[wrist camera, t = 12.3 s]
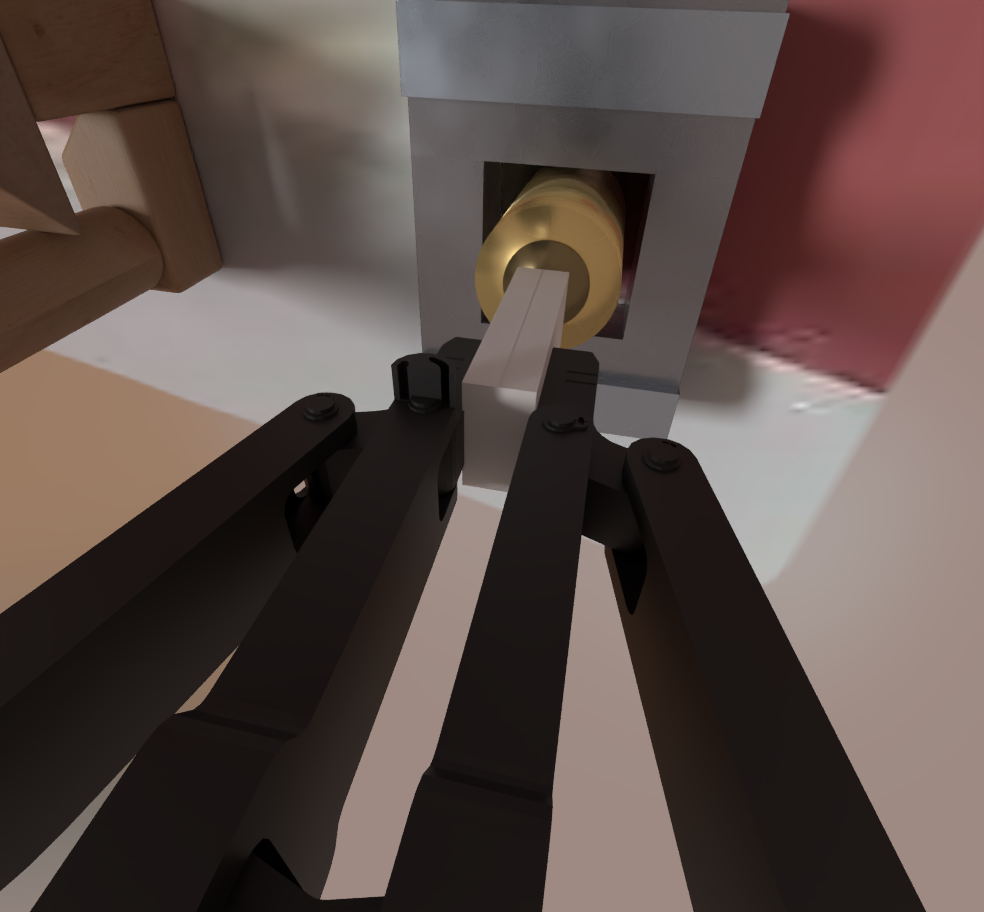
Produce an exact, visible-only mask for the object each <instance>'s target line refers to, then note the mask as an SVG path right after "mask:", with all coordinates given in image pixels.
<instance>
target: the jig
mask: <svg viewBox="0 0 984 912" xmlns="http://www.w3.org/2000/svg"><path fill="white" fill-rule="evenodd" d="M788 3H789V0H396V11H397V27H398V43H399V59H400V75H401V91H402V96H406V97H408V106H409V124H410V142H411V159H412V177H413V195H414V212H415V230H416V248H417V265H418V283H419V301H420V318H421V336H422V353H432V354H437V353H438V351H439V350H440V348H441V346H442V345H443V344H445V343H446V342H448V341H449V340H451V339H453V338H454V337H463V338H471V339H479V340H483V338H484V336H485V333H486V331H487V329H488V327H489V325H490V322H489V320H488V319H487V317H486V316H485V314H484V312H483V310H482V308H481V306H480V303H479V300H478V297H477V293H476V287H475V269H476V263H477V259H478V255H479V252H480V250H481V248H482V246H483V244H484V242H485V240H486V239H487V237H488V236H489V234H490V233H491V232H492V230H493V229H494V228H495V226H496V225H497V223H498V222H499V221H500V207H501V180H502V162H504V163H517V164H530V165H543V166H556V167H569V168H582V169H595V170H608V171H621V172H634V173H647V174H649V180H648V185H647V190H646V195H645V201H644V206H643V211H642V216H641V222H640V227H639V232H638V237H637V243H636V248H635V253H634V258H633V264H632V269H631V274H630V279H629V284H628V290H627V295H626V300H625V305H624V304H617V305H616V308H615V310H614V312H613V314H612V316H611V318H610V319H609V320H608V322H607V323H606V325H605V326H604V327H603V328H602V329H601V330H600V331H599V332H598V333H597V334H596V335H595V336H593V337H592V338H590V339H589V340H587V341H586V342H584V343H582V344H580V345H578V346H575V347H573V348H570V349H572V350H580V351H588V352H593V354H594V355H595V357H596V358H597V360H598V361H599V363H600V364H599V373H598V382H597V391H596V400H595V409H594V417H593V420H594V426H595V428H596V430H597V431H598V432H600V433H607V434H614V435H621V436H628V437H635V438H642V439H643V438H651V437H655V438H663V439H667V437H668V434H669V431H670V427H671V424H672V420H673V417H674V413H675V410H676V406H677V403H678V399H679V396H680V392H679V385H680V382H681V378H682V375H683V371H684V368H685V364H686V361H687V357H688V354H689V350H690V347H691V343H692V340H693V336H694V333H695V329H696V326H697V322H698V319H699V315H700V312H701V308H702V305H703V301H704V298H705V294H706V291H707V287H708V284H709V280H710V277H711V273H712V270H713V266H714V262H715V259H716V255H717V252H718V248H719V245H720V241H721V238H722V234H723V231H724V227H725V224H726V220H727V217H728V213H729V210H730V206H731V203H732V199H733V196H734V192H735V189H736V185H737V182H738V178H739V175H740V171H741V168H742V164H743V161H744V157H745V154H746V150H747V147H748V143H749V140H750V136H751V133H752V129H753V126H754V122H755V119H756V118H760V116H761V112H762V109H763V105H764V102H765V98H766V95H767V91H768V88H769V84H770V81H771V78H772V74H773V71H774V67H775V64H776V60H777V57H778V53H779V50H780V46H781V43H782V39H783V36H784V33H785V29H786V26H787V22H788V19H789V15H790V13H786V10H787V6H788Z"/></svg>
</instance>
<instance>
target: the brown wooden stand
mask: <svg viewBox="0 0 984 912" xmlns="http://www.w3.org/2000/svg"><path fill="white" fill-rule="evenodd" d="M174 95H175V86H174V82H173V79H172V75H171V71H170V68H169V64H168V60H167V57H166V53H165V49H164V46H163V42H162V38H161V35H160V31H159V28H158V24H157V20H156V17H155V13H154V9H153V6H152V2H151V0H0V227H9V228H18V229H26V231H24V232H21V233H18V234H15V235H12V236H9V237H6V238H4V239H1V240H0V373H1V372H3V371H5V370H7V369H8V368H10V367H12V366H14V365H16V364H17V363H19V362H21V361H23V360H24V359H26V358H28V357H30V356H32V355H33V354H35V353H37V352H39V351H41V350H42V349H44V348H46V347H48V346H49V345H51V344H53V343H55V342H57V341H58V340H60V339H62V338H64V337H66V336H67V335H69V334H71V333H73V332H75V331H76V330H78V329H80V328H82V327H83V326H85V325H87V324H89V323H91V322H92V321H94V320H96V319H98V318H100V317H101V316H103V315H105V314H107V313H109V312H110V311H112V310H114V309H116V308H117V307H119V306H121V305H123V304H125V303H126V302H128V301H130V300H132V299H134V298H135V297H137V296H139V295H141V294H142V293H144V292H146V291H148V290H158V291H166V292H173V293H180V292H183V291H185V290H186V289H188V288H190V287H191V286H193V285H195V284H196V283H198V282H200V281H201V280H203V279H205V278H206V277H208V276H210V275H211V274H213V273H215V272H216V271H218V270H220V269H221V268H222V259H221V255H220V252H219V248H218V245H217V241H216V237H215V234H214V230H213V226H212V223H211V219H210V215H209V212H208V208H207V205H206V201H205V197H204V194H203V190H202V186H201V183H200V179H199V175H198V172H197V168H196V165H195V161H194V157H193V154H192V150H191V146H190V143H189V139H188V135H187V132H186V128H185V125H184V121H183V117H182V114H181V110H180V107H179V105H178V103H177V102H175V101H173V100H170V99H169V98H171V97H173V96H174ZM74 115H78V116H77V119H76V121H75V124H74V126H73V129H72V131H71V134H70V136H69V139H68V141H67V144H66V146H65V149H64V151H63V154H62V159H63V163H64V165H65V168H66V170H67V173H68V175H69V178H70V180H71V182H72V185H73V187H74V190H75V192H76V195H77V197H78V200H79V202H80V204H81V207H82V209H83V211H81V212H78V213H74V211H73V208H72V206H71V204H70V201H69V199H68V197H67V194H66V192H65V189H64V187H63V185H62V182H61V180H60V178H59V175H58V173H57V170H56V168H55V166H54V163H53V161H52V159H51V156H50V154H49V151H48V149H47V147H46V144H45V142H44V140H43V137H42V135H41V132H40V130H39V128H38V125H37V123H36V121H37V122H40V121H46V120H52V119H57V118H63V117H69V116H74Z"/></svg>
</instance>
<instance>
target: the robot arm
mask: <svg viewBox="0 0 984 912" xmlns="http://www.w3.org/2000/svg"><path fill="white" fill-rule="evenodd" d="M568 279H569V272H563V271H554V270H544V269H534V268H525V267H517V269H516V271H515V273H514V275H513V278H512V280H511V282H510V284H509V286H508V288H507V290H506V292H505V294H504V296H503V298H502V300H501V302H500V304H499V307H498V309H497V311H496V313H495V315H494V317H493V319H492V321H491V323H490V325H489V327H488V329H487V331H486V333H485V336H484V338H483V340H479V339H471V338H463V337H454V338H453V339H451V340H449V341H448V342H446V343H445V344H443V345H442V346H441V348H440V350H439V351H438V353H437V354H432V353H417V354H411V355H407V356H404V357H402V358H399V359H397V360H396V361H395V362H394V363H393V364H392V365H391V368H392V378H393V388H394V398H395V399H394V401H393V403H392V404H391V406H390V407H389V409H387V410H381V411H369V412H355V406H354V403H353V402H352V401H351V399H350V398H348V397H346V396H344V395H342V394H336V393H326V392H325V393H316V394H313V395H309V396H306V397H304V398H302V399H300V400H298V401H296V402H295V403H293V404H292V405H291V406H289V407H288V408H286V409H285V410H284V411H282V412H281V413H280V414H278V415H277V416H275V417H274V418H273V419H271V420H270V421H268V422H267V423H266V424H264V425H263V426H261V427H260V428H259V429H257V430H256V431H254V432H253V433H252V434H250V435H249V436H247V437H246V438H245V439H243V440H242V441H241V442H239V443H238V444H236V445H235V446H234V447H232V448H231V449H229V450H228V451H227V452H225V453H224V454H222V455H221V456H220V457H218V458H217V459H215V460H214V461H213V462H211V463H210V464H208V465H207V466H206V467H204V468H203V469H202V470H200V471H199V472H197V473H196V474H195V475H193V476H192V477H190V478H189V479H188V480H186V481H185V482H183V483H182V484H181V485H179V486H178V487H176V488H175V489H174V490H172V491H171V492H170V493H168V494H167V495H165V496H164V497H162V498H161V499H160V500H158V501H157V502H156V503H154V504H153V505H151V506H150V507H149V508H147V509H146V510H144V511H143V512H142V513H140V514H139V515H137V516H136V517H135V518H133V519H132V520H130V521H129V522H128V523H126V524H125V525H123V526H122V527H121V528H119V529H118V530H117V531H115V532H114V533H113V534H111V535H110V536H108V537H107V538H106V539H104V540H103V541H101V542H100V543H98V544H97V545H96V546H94V547H93V548H91V549H90V550H89V551H87V552H86V553H85V554H83V555H82V556H80V557H79V558H78V559H76V560H75V561H73V562H72V563H71V564H69V565H68V566H66V567H65V568H64V569H62V570H61V571H59V572H58V573H57V574H55V575H54V576H52V577H51V578H50V579H48V580H47V581H46V582H44V583H43V584H41V585H40V586H39V587H37V588H36V589H34V590H33V591H32V592H30V593H29V594H27V595H26V596H25V597H23V598H22V599H20V600H19V601H18V602H16V603H15V604H13V605H12V606H11V607H9V608H8V609H6V610H5V611H4V612H2V613H1V614H0V891H1V890H2V889H3V888H4V887H6V885H8V884H9V883H10V882H11V881H12V880H14V879H15V878H16V877H17V876H18V875H19V874H20V873H22V872H23V871H24V870H25V869H26V868H27V867H28V866H29V865H30V864H31V863H32V862H33V861H34V860H35V859H36V858H37V857H38V856H39V855H40V854H41V853H42V852H43V851H45V849H46V848H47V847H49V846H50V845H51V844H52V842H54V841H55V839H57V837H58V836H60V835H61V834H62V833H63V832H64V831H65V829H67V827H69V825H70V824H71V823H72V822H73V821H74V820H75V819H76V818H77V817H78V816H79V815H80V814H81V813H82V812H83V811H84V810H85V808H86V807H87V806H88V805H89V804H90V803H91V802H92V801H93V800H94V799H95V798H96V797H97V796H98V795H99V794H100V792H101V791H102V790H103V789H104V788H105V787H106V786H107V785H108V784H109V783H110V782H111V781H112V779H114V778H115V777H116V775H117V774H118V773H119V772H120V771H121V770H122V769H123V768H124V767H125V766H126V765H127V764H128V763H129V762H130V761H131V759H132V758H133V757H134V756H135V755H136V754H137V755H136V756H135V757H134V759H133V761H132V762H131V764H130V765H129V766H128V768H127V769H126V771H125V772H124V774H123V775H122V777H121V778H120V780H119V781H118V783H117V784H116V786H115V787H114V789H113V790H112V791H111V793H110V794H109V796H108V797H107V799H106V800H105V802H104V803H103V805H102V806H101V808H100V809H99V811H98V812H97V814H96V815H95V817H94V818H93V819H92V821H91V823H90V824H89V825H88V827H87V828H86V830H85V831H84V833H83V835H82V836H81V837H80V839H79V840H78V842H77V843H76V845H75V846H74V848H73V849H72V851H71V852H70V853H69V855H68V857H67V858H66V859H65V861H64V862H63V864H62V866H61V867H60V868H59V870H58V871H57V873H56V874H55V876H54V877H53V879H52V880H51V882H50V883H49V885H48V886H47V887H46V889H45V891H44V892H43V893H42V895H41V896H40V898H39V899H38V901H37V902H36V904H35V905H34V907H33V908H32V910H31V911H30V912H542V907H543V898H544V888H545V880H546V871H547V862H548V852H549V843H550V833H551V822H552V808H553V804H552V803H553V801H552V791H553V780H554V771H555V763H556V754H557V745H558V735H559V728H560V719H561V710H562V701H563V692H564V684H565V675H566V666H567V657H568V648H569V640H570V631H571V622H572V613H573V605H574V596H575V588H576V578H577V570H578V561H579V553H580V544H581V535H583V536H585V537H588V538H590V539H592V540H594V541H597V542H599V543H601V544H603V545H605V557H606V560H607V564H608V569H609V573H610V577H611V580H612V584H613V589H614V593H615V597H616V601H617V605H618V609H619V613H620V617H621V621H622V625H623V629H624V633H625V637H626V641H627V645H628V649H629V653H630V657H631V661H632V665H633V669H634V673H635V677H636V681H637V685H638V689H639V694H640V698H641V702H642V706H643V709H644V713H645V717H646V721H647V726H648V730H649V734H650V738H651V742H652V746H653V750H654V754H655V758H656V762H657V766H658V770H659V774H660V778H661V782H662V786H663V790H664V794H665V798H666V802H667V806H668V810H669V814H670V818H671V822H672V826H673V830H674V834H675V839H676V842H677V847H678V851H679V854H680V858H681V863H682V867H683V870H684V875H685V879H686V882H687V887H688V891H689V895H690V899H691V903H692V907H693V911H694V912H926V911H925V909H924V907H923V905H922V903H921V901H920V899H919V897H918V895H917V893H916V891H915V889H914V887H913V885H912V883H911V881H910V879H909V877H908V875H907V873H906V871H905V869H904V867H903V865H902V863H901V861H900V859H899V857H898V855H897V853H896V851H895V849H894V847H893V846H892V843H891V841H890V840H889V837H888V835H887V834H886V831H885V829H884V828H883V826H882V824H881V822H880V820H879V818H878V816H877V814H876V812H875V810H874V808H873V806H872V804H871V802H870V800H869V798H868V796H867V794H866V792H865V791H864V788H863V786H862V784H861V782H860V780H859V778H858V776H857V774H856V772H855V771H854V768H853V766H852V764H851V762H850V760H849V758H848V756H847V754H846V753H845V750H844V749H843V747H842V744H841V743H840V741H839V739H838V737H837V735H836V733H835V731H834V729H833V727H832V725H831V723H830V721H829V719H828V717H827V715H826V713H825V711H824V709H823V707H822V705H821V703H820V701H819V699H818V697H817V695H816V693H815V691H814V689H813V687H812V685H811V683H810V682H809V679H808V677H807V675H806V674H805V672H804V669H803V667H802V666H801V663H800V661H799V660H798V658H797V656H796V654H795V652H794V650H793V648H792V646H791V644H790V642H789V640H788V638H787V636H786V634H785V632H784V630H783V628H782V626H781V624H780V622H779V620H778V618H777V616H776V614H775V612H774V610H773V608H772V606H771V604H770V602H769V600H768V598H767V596H766V594H765V592H764V590H763V588H762V586H761V584H760V582H759V580H758V578H757V577H756V575H755V573H754V571H753V569H752V567H751V565H750V563H749V561H748V559H747V557H746V555H745V553H744V551H743V549H742V547H741V545H740V543H739V541H738V539H737V537H736V535H735V533H734V531H733V529H732V527H731V525H730V523H729V521H728V519H727V517H726V515H725V513H724V511H723V509H722V507H721V505H720V503H719V501H718V499H717V497H716V495H715V493H714V492H713V490H712V488H711V486H710V484H709V482H708V480H707V478H706V476H705V474H704V472H703V470H702V468H701V466H700V464H699V462H698V460H697V458H696V457H695V456H694V455H693V453H692V452H691V451H690V450H689V449H687V448H686V447H684V446H683V445H681V444H680V443H677V442H674V441H671V440H668V439H663V438H655V437H651V438H643V439H639V440H637V441H635V442H633V443H631V445H630V446H629V448H625V447H623V446H620V445H617V444H615V443H613V442H611V441H609V440H608V439H606V438H605V437H603V436H602V435H601V434H600V433H599V432H598V431H597V430H596V428H595V426H594V420H593V417H594V409H595V400H596V391H597V382H598V373H599V364H600V363H599V361H598V360H597V358H596V357H595V355H594V354H593V352H588V351H580V350H572V349H564V348H560V346H561V338H562V329H563V321H564V312H565V304H566V296H567V287H568ZM461 471H462V481H463V485H468V486H474V487H480V488H486V489H492V490H498V491H505V492H508V493H507V497H506V501H505V504H504V508H503V511H502V515H501V519H500V522H499V526H498V529H497V533H496V537H495V540H494V544H493V547H492V551H491V554H490V558H489V561H488V565H487V569H486V572H485V576H484V580H483V583H482V587H481V590H480V594H479V597H478V601H477V605H476V608H475V612H474V615H473V619H472V622H471V626H470V629H469V633H468V637H467V640H466V644H465V647H464V651H463V655H462V658H461V662H460V665H459V669H458V672H457V676H456V680H455V683H454V687H453V690H452V694H451V698H450V701H449V705H448V708H447V712H446V716H445V719H444V723H443V726H442V730H441V734H440V737H439V741H438V744H437V748H436V751H435V754H434V757H433V760H432V762H431V764H430V766H429V768H428V769H427V770H426V771H425V772H424V773H423V775H422V778H421V780H420V783H419V785H418V787H417V790H416V793H415V796H414V799H413V802H412V805H411V808H410V812H409V815H408V818H407V822H406V825H405V829H404V832H403V835H402V839H401V843H400V846H399V849H398V853H397V856H396V859H395V863H394V867H393V870H392V873H391V877H390V880H389V883H388V887H387V890H386V894H385V896H383V897H367V898H352V899H336V900H320V897H321V894H322V891H323V889H324V886H325V883H326V880H327V877H328V874H329V870H330V868H331V864H332V860H333V856H334V851H335V846H336V837H337V830H338V823H339V819H340V815H341V812H342V808H343V805H344V803H345V800H346V797H347V795H348V792H349V789H350V786H351V784H352V781H353V778H354V776H355V773H356V770H357V768H358V765H359V762H360V759H361V757H362V754H363V751H364V748H365V746H366V743H367V740H368V738H369V735H370V732H371V730H372V727H373V725H374V722H375V719H376V716H377V714H378V711H379V708H380V706H381V703H382V700H383V698H384V695H385V692H386V689H387V687H388V684H389V681H390V679H391V676H392V673H393V671H394V668H395V665H396V662H397V660H398V657H399V655H400V652H401V649H402V646H403V644H404V641H405V638H406V636H407V633H408V630H409V628H410V625H411V622H412V620H413V617H414V614H415V611H416V609H417V606H418V603H419V601H420V598H421V595H422V593H423V590H424V587H425V585H426V582H427V579H428V576H429V574H430V571H431V568H432V566H433V563H434V560H435V557H436V555H437V552H438V550H439V547H440V544H441V541H442V539H443V536H444V533H445V531H446V528H447V525H448V523H449V520H450V517H451V514H452V512H453V509H454V506H455V504H456V501H457V481H458V479H459V476H460V473H461ZM303 480H304V481H305V485H306V487H305V488H303V489H302V490H301V491H300V492H298V493H296V494H295V492H294V488H295V487H296V486H298V485H299V484H300V483H301V482H302V481H303ZM238 646H239V647H238ZM237 647H238V648H237ZM236 648H237V650H236V651H235V653H234V655H233V656H232V658H231V659H230V661H229V663H228V664H227V666H226V667H225V669H224V670H223V672H222V673H221V675H220V677H219V678H218V680H217V682H216V683H215V685H214V686H213V688H212V689H211V691H210V693H209V694H208V695H207V697H206V698H205V699H204V701H203V702H202V703H201V704H200V705H199V706H197V707H196V708H195V709H194V710H191V711H186V712H182V713H177V714H175V713H176V712H177V710H178V709H179V708H180V707H181V706H182V705H183V704H184V703H185V702H186V701H187V700H188V699H189V698H190V697H191V696H192V695H193V694H194V692H195V691H196V690H197V689H198V688H199V687H200V686H201V685H202V684H203V683H204V682H205V681H206V680H207V679H208V677H209V676H210V675H211V674H212V673H213V672H214V671H215V670H216V669H217V668H218V667H219V666H220V665H221V663H223V661H225V659H226V658H227V657H228V656H229V655H230V654H231V653H232V652H233V651H234V650H235V649H236Z"/></svg>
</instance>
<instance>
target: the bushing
mask: <svg viewBox="0 0 984 912" xmlns="http://www.w3.org/2000/svg"><path fill="white" fill-rule="evenodd" d="M625 215H626V207H625V200H624V195H623V192H622V189H621V187H620V185H619V183H618V181H617V180H616V178H615V177H614V175H613V174H612V173H611V172H610V171H608V170H595V169H582V168H569V167H556V166H543V167H542V168H541V169H540V170H538V171H537V172H536V173H535V174H534V175H533V177H532V178H531V179H530V180H529V182H528V183H527V184H526V186H525V187H524V188H523V190H522V191H521V192H520V194H519V195H518V197H517V198H516V199H515V201H514V202H513V203H512V205H511V206H510V207H509V209H508V210H507V211H506V213H505V214H504V215H503V217H502V218H501V219H500V221H499V222H498V223H497V225H496V226H495V228H494V229H493V230H492V232H491V233H490V234H489V236H488V237H487V239H486V240H485V242H484V244H483V246H482V248H481V250H480V252H479V255H478V259H477V263H476V269H475V287H476V293H477V297H478V300H479V303H480V306H481V308H482V310H483V312H484V314H485V316H486V317H487V319H488V320H489V322H490V323H491V321H492V319H493V317H494V315H495V313H496V311H497V309H498V307H499V304H500V302H501V300H502V298H503V296H504V294H505V292H506V290H507V288H508V286H509V284H510V282H511V280H512V278H513V275H514V273H515V271H516V269H517V267H525V268H534V269H544V270H554V271H563V272H569V279H568V287H567V296H566V304H565V312H564V321H563V329H562V338H561V346H560V348H564V349H570V348H573V347H575V346H578V345H580V344H582V343H584V342H586V341H587V340H589V339H590V338H592V337H593V336H595V335H596V334H597V333H598V332H599V331H600V330H601V329H602V328H603V327H604V326H605V325H606V323H607V322H608V320H609V319H610V318H611V316H612V314H613V312H614V310H615V308H616V305H617V303H618V300H619V296H620V291H621V278H622V262H623V246H624V231H625Z"/></svg>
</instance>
